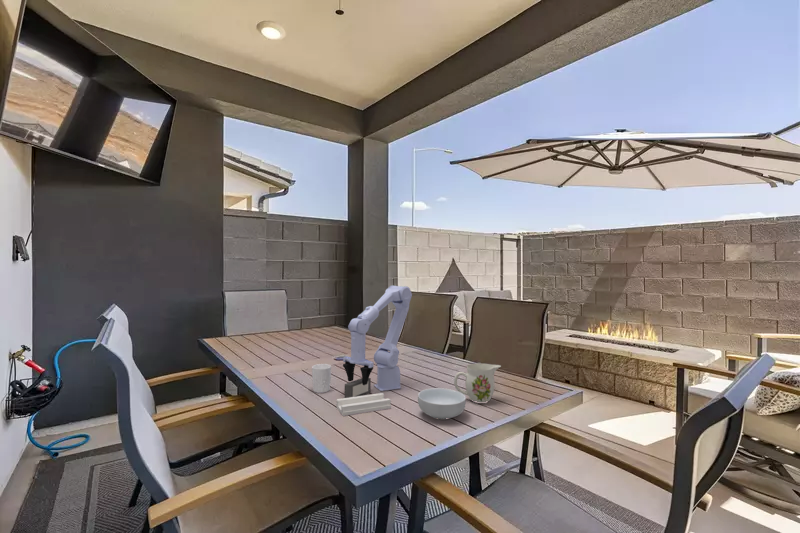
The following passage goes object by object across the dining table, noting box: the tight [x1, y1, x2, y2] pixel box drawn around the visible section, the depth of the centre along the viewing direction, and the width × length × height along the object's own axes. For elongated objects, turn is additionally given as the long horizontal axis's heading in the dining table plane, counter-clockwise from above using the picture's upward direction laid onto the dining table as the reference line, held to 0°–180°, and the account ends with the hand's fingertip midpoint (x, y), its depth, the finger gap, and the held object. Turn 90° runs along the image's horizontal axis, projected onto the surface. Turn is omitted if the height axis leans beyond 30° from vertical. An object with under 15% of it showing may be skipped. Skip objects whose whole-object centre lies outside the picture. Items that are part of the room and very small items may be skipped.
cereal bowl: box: [417, 387, 467, 420], centre depth 133 cm, size 17×17×7 cm
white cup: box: [311, 363, 332, 394], centre depth 158 cm, size 8×8×10 cm
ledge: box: [335, 392, 392, 417], centre depth 139 cm, size 18×9×3 cm, turn 114°
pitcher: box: [453, 363, 502, 402], centre depth 147 cm, size 11×18×14 cm, turn 88°
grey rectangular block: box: [343, 377, 372, 398], centre depth 151 cm, size 12×3×6 cm, turn 143°
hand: (357, 382), depth 151 cm, fingers open, 7 cm apart
